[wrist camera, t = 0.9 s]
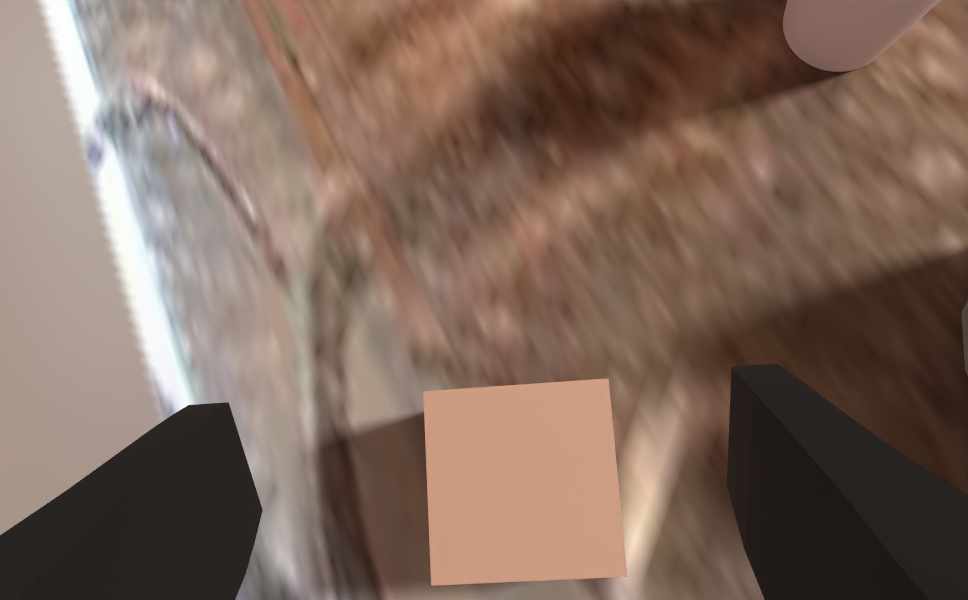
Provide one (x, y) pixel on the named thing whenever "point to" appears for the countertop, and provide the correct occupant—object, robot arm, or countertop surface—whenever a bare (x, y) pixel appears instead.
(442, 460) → the terracotta cube
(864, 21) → the smoothie
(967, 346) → the cup
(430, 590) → the countertop surface
